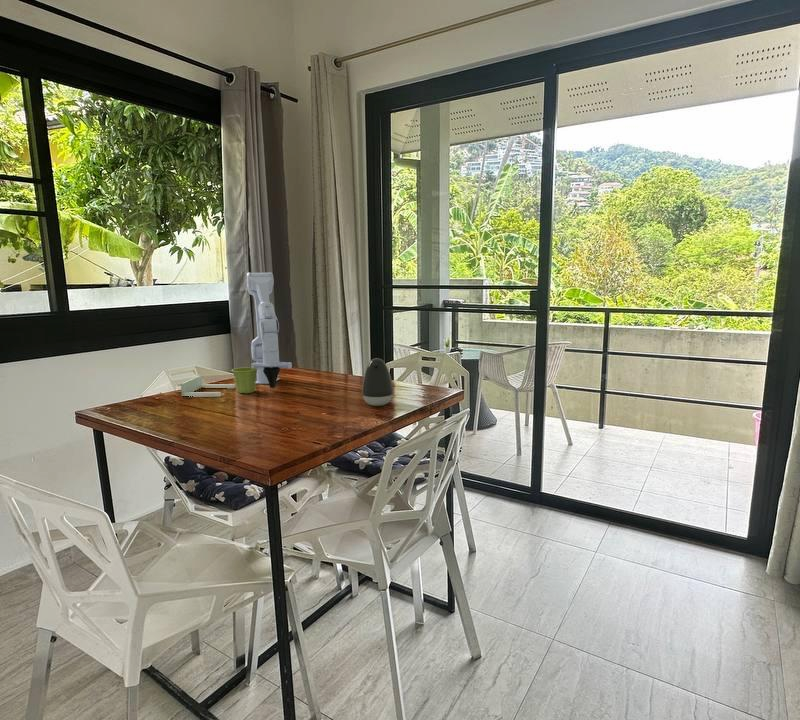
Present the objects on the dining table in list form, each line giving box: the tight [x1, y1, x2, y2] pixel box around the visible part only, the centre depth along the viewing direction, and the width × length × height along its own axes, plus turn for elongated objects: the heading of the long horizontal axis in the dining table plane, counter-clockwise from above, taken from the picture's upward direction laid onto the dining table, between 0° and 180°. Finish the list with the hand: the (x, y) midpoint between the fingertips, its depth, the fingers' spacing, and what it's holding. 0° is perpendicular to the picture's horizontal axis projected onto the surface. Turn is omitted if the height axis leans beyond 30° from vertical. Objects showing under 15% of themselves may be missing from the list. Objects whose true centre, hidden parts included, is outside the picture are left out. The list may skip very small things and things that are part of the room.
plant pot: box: [231, 366, 258, 394], centre depth 189 cm, size 9×9×9 cm
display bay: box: [180, 375, 236, 398], centre depth 190 cm, size 15×14×5 cm
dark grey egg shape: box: [361, 357, 394, 407], centre depth 166 cm, size 10×10×15 cm
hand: (272, 387), depth 189 cm, fingers closed
